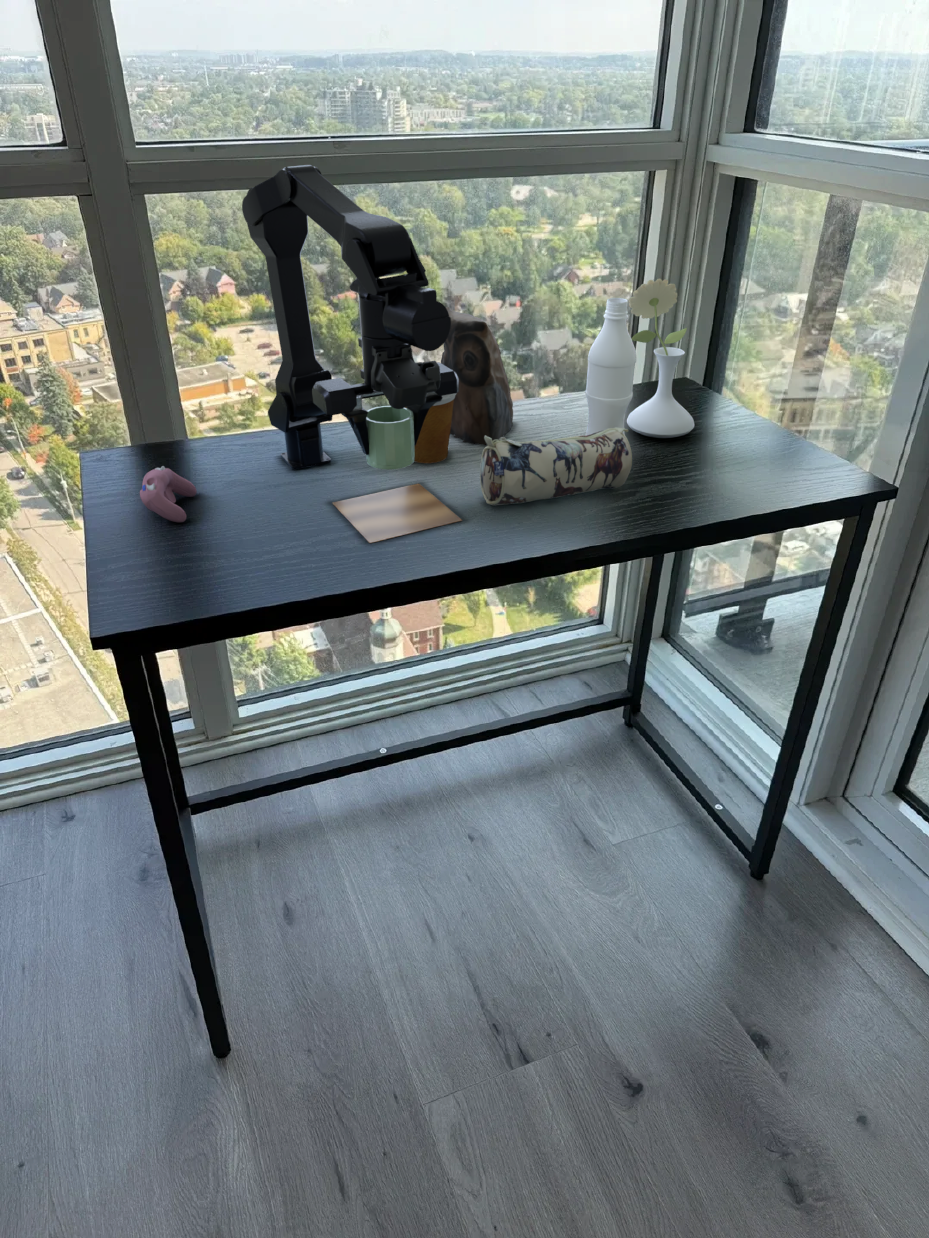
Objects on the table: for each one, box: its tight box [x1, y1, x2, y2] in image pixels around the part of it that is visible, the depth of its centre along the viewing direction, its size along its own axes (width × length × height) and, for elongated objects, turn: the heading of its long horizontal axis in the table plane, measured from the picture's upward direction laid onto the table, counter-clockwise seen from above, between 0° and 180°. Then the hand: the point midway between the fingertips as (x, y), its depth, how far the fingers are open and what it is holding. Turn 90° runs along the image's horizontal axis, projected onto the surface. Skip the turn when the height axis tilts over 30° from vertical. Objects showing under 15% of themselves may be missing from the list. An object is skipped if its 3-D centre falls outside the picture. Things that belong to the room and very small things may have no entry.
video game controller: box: [139, 465, 198, 523], centre depth 122 cm, size 10×5×7 cm, turn 5°
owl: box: [440, 306, 514, 447], centre depth 143 cm, size 13×13×20 cm
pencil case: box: [479, 427, 633, 506], centre depth 125 cm, size 22×8×10 cm, turn 108°
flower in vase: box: [626, 278, 695, 439], centre depth 142 cm, size 13×11×25 cm
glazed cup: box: [365, 405, 415, 471], centre depth 117 cm, size 7×7×6 cm
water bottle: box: [584, 297, 637, 436], centre depth 130 cm, size 7×7×25 cm
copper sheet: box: [331, 482, 463, 544], centre depth 123 cm, size 14×14×1 cm
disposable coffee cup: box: [404, 393, 457, 464], centre depth 136 cm, size 10×10×12 cm
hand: (389, 449), depth 118 cm, fingers closed on glazed cup, 6 cm apart
